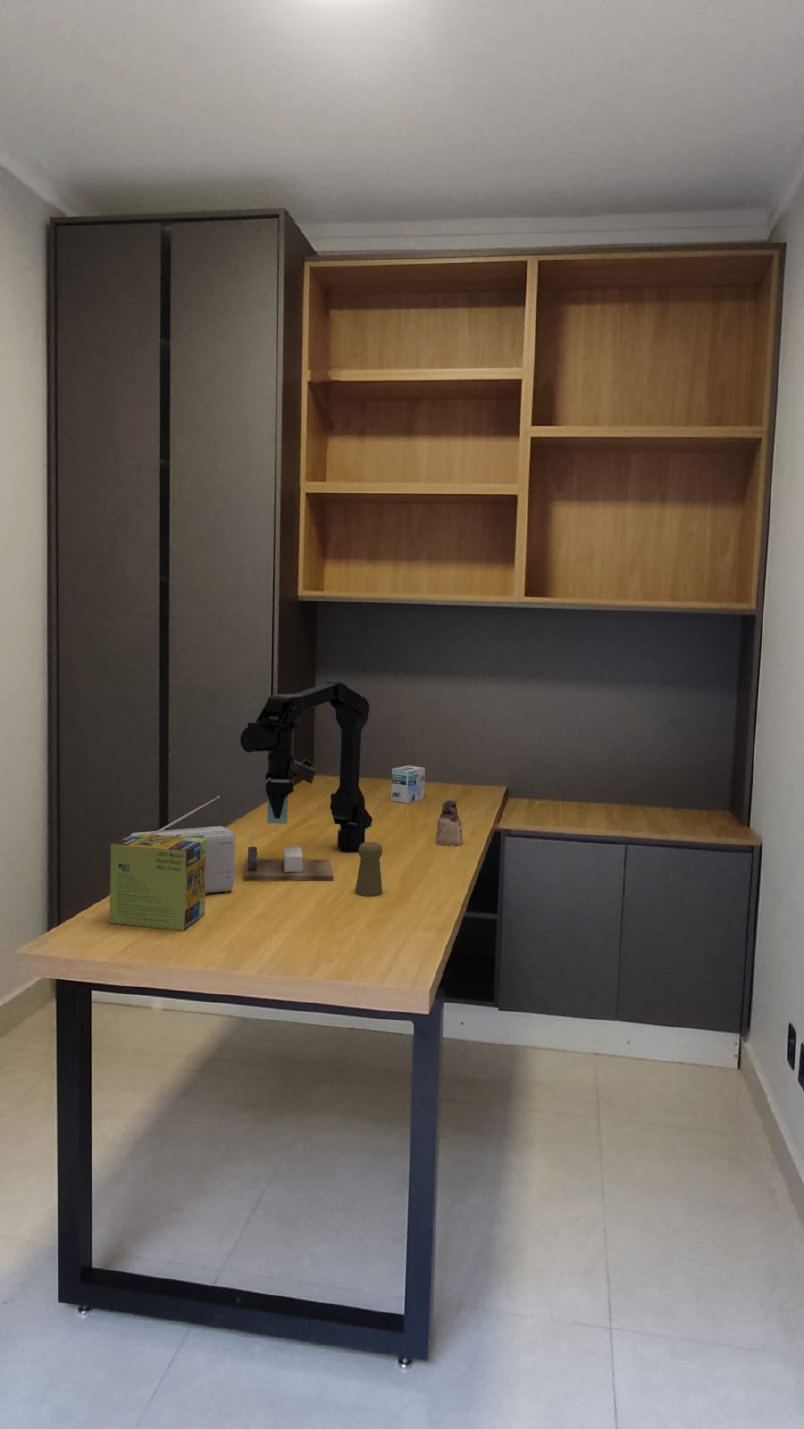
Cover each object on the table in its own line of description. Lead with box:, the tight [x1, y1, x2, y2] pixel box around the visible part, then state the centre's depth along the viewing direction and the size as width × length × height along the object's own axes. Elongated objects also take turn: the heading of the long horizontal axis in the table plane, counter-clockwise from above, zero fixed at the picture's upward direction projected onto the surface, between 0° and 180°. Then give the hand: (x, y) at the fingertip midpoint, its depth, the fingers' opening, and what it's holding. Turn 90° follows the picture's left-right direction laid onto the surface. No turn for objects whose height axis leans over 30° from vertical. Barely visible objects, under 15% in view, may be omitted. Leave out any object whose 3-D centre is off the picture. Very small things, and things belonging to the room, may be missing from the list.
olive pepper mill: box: [354, 841, 383, 898], centre depth 206 cm, size 6×6×11 cm
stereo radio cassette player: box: [130, 795, 236, 894], centre depth 199 cm, size 21×8×20 cm, turn 120°
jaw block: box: [266, 795, 289, 825], centre depth 220 cm, size 4×4×6 cm
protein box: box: [109, 832, 206, 932], centre depth 182 cm, size 10×15×16 cm
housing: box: [282, 846, 304, 872], centre depth 219 cm, size 4×9×4 cm, turn 9°
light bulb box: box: [390, 764, 426, 804], centre depth 312 cm, size 11×7×11 cm, turn 147°
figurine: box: [435, 799, 463, 846], centre depth 254 cm, size 7×7×12 cm
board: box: [243, 846, 335, 882], centre depth 219 cm, size 20×14×5 cm
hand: (277, 816), depth 220 cm, fingers closed on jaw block, 4 cm apart
